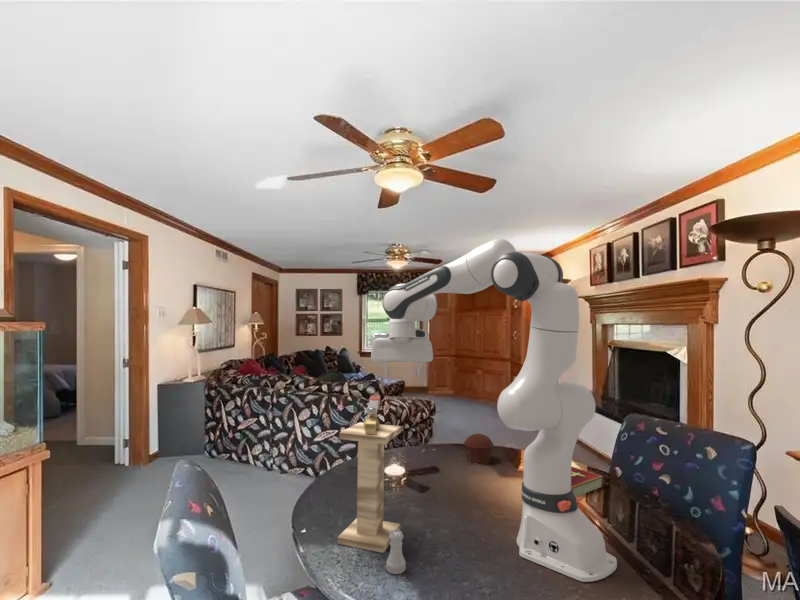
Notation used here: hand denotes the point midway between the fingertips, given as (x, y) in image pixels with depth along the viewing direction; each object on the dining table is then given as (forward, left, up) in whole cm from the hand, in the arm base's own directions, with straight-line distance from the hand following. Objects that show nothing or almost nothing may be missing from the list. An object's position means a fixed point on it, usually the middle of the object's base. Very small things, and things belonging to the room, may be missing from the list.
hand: (402, 376), depth 142 cm
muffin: (+7, -42, -36) cm, 56 cm away
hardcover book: (-29, -46, -37) cm, 66 cm away
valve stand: (-20, +24, -36) cm, 48 cm away
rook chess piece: (-36, +27, -36) cm, 58 cm away
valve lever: (-13, +19, -6) cm, 24 cm away
